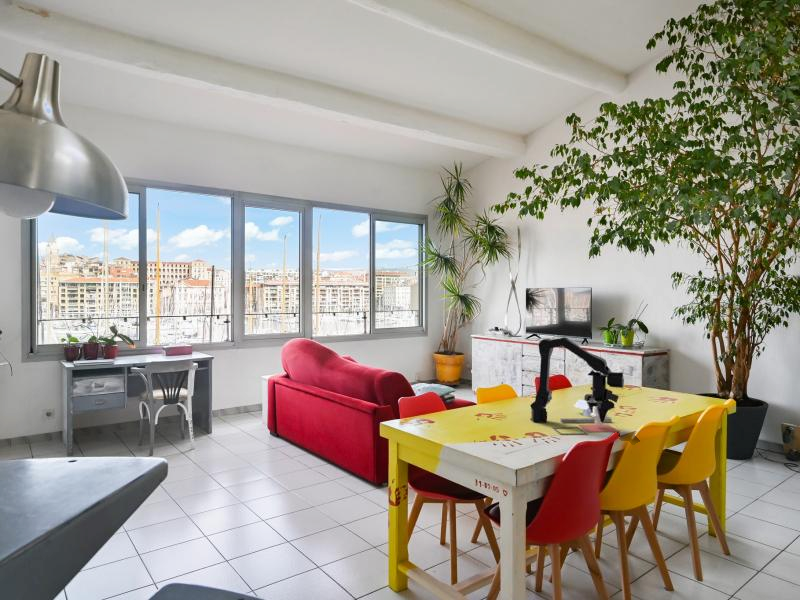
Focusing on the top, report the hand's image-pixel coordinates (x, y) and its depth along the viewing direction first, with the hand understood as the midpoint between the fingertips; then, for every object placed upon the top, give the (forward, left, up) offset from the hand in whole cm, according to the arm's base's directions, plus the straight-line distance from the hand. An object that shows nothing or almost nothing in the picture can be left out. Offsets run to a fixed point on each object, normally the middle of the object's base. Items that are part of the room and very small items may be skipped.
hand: (598, 420), depth 239 cm
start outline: (-15, -4, -4) cm, 16 cm away
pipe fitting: (0, 0, -2) cm, 2 cm away
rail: (-1, +12, -4) cm, 13 cm away
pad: (0, 0, -4) cm, 4 cm away
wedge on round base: (+7, +27, -4) cm, 28 cm away
